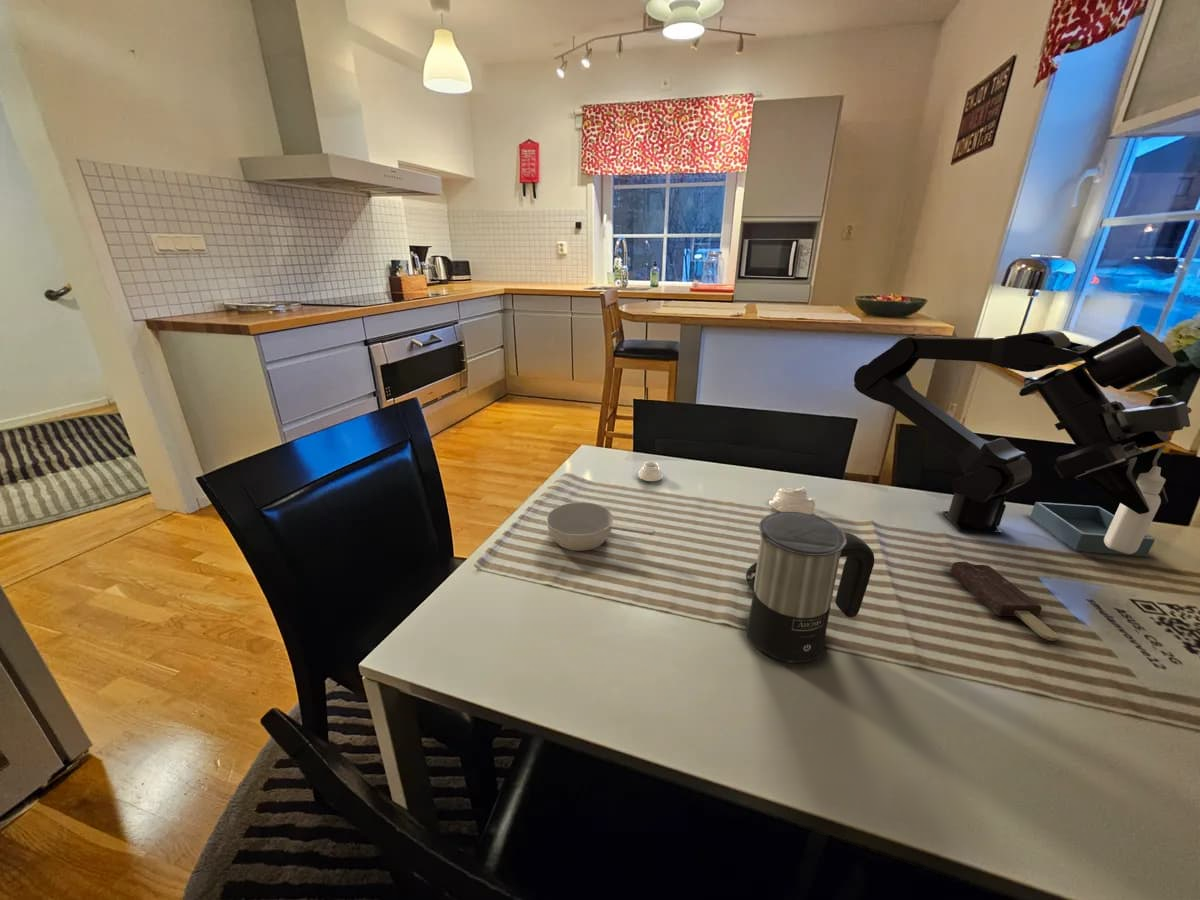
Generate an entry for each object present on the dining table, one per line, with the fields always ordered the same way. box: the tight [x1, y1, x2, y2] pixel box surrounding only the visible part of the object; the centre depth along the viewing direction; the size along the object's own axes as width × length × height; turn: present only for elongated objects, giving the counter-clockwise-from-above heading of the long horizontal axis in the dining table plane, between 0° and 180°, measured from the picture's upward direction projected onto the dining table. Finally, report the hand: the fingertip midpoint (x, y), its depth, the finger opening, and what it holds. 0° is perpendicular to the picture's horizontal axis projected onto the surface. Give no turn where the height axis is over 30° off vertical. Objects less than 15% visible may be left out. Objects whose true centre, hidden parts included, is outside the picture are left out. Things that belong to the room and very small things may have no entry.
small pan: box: [546, 501, 656, 552], centre depth 79 cm, size 11×18×4 cm, turn 68°
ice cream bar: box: [949, 561, 1058, 642], centre depth 65 cm, size 5×2×15 cm
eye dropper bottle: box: [1104, 465, 1167, 554], centre depth 66 cm, size 4×6×12 cm
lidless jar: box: [638, 461, 664, 482], centre depth 102 cm, size 5×3×5 cm
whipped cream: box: [768, 486, 817, 515], centre depth 89 cm, size 8×7×5 cm
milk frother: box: [745, 511, 875, 664], centre depth 61 cm, size 14×16×15 cm
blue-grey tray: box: [1029, 501, 1156, 557], centre depth 82 cm, size 10×11×3 cm
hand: (1154, 508), depth 65 cm, fingers closed on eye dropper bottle, 5 cm apart
